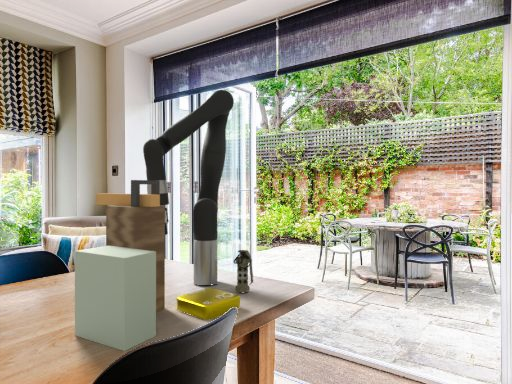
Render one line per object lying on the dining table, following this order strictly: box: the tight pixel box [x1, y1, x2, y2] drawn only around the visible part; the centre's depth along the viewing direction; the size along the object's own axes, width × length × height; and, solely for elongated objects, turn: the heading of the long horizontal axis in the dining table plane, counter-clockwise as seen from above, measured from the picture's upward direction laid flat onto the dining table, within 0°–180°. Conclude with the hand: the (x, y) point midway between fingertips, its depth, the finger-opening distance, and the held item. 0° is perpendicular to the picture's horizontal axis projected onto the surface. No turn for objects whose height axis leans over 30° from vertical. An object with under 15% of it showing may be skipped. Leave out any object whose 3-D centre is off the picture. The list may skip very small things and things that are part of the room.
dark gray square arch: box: [130, 179, 160, 207], centre depth 110 cm, size 2×10×8 cm, turn 151°
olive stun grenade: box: [233, 249, 254, 293], centre depth 132 cm, size 6×7×15 cm
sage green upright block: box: [74, 245, 157, 352], centre depth 94 cm, size 18×10×22 cm, turn 61°
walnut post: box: [105, 205, 166, 312], centre depth 112 cm, size 12×12×32 cm
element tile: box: [176, 287, 241, 321], centre depth 115 cm, size 15×15×5 cm
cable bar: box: [95, 192, 160, 207], centre depth 114 cm, size 24×4×4 cm, turn 61°
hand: (161, 235), depth 139 cm, fingers open, 8 cm apart
